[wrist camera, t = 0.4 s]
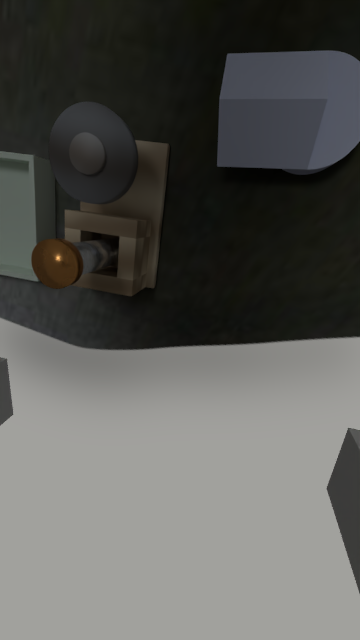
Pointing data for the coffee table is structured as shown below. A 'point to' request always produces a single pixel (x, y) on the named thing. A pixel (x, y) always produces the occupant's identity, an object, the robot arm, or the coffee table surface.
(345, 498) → the robot arm
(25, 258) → the tray
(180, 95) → the coffee table surface
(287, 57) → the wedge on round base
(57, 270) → the lock pin
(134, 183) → the block
